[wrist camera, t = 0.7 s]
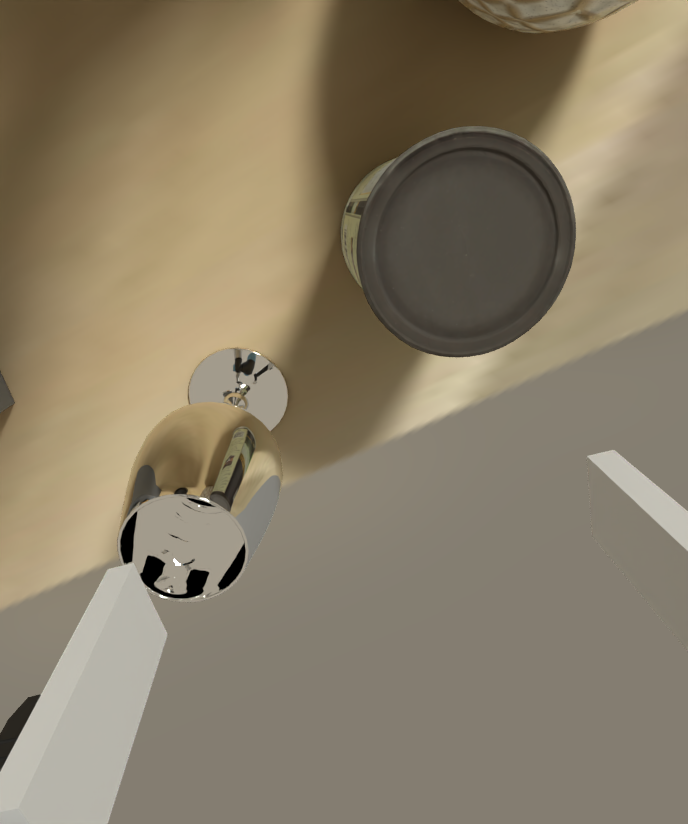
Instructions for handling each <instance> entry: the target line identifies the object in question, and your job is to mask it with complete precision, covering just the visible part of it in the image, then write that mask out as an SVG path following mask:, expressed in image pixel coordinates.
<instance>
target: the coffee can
mask: <svg viewBox="0 0 688 824" xmlns="http://www.w3.org/2000/svg"><path fill="white" fill-rule="evenodd" d="M575 240H576V222H575V214H574V208H573V204H572V200H571V196H570V194H569V191H568V189H567V186H566V184H565V182H564V180H563V178H562V176H561V174H560V172H559V171H558V170H557V168H556V167H555V165H554V164H553V163H552V162H551V160H550V159H549V158H548V157H547V156H546V155H545V154H544V153H543V152H542V151H541V150H540V149H539V148H537V147H536V146H535V145H533V144H532V143H530V142H529V141H527V140H526V139H524V138H522V137H520V136H518V135H516V134H513V133H511V132H509V131H506V130H502V129H498V128H493V127H484V126H468V127H459V128H453V129H449V130H445V131H442V132H439V133H437V134H434V135H432V136H430V137H427V138H425V139H424V140H422V141H420V142H419V143H417V144H415V145H413V146H412V147H410V148H409V149H408V150H406V151H405V152H404V153H402V154H401V155H400V156H399V157H397V158H395V159H392V160H389V161H387V162H385V163H383V164H381V165H379V166H378V167H376V168H375V169H374V170H372V171H371V172H369V173H368V174H367V175H366V176H365V177H364V178H363V179H362V181H361V182H360V183H359V184H358V185H357V186H356V188H355V189H354V191H353V192H352V194H351V196H350V198H349V200H348V202H347V204H346V207H345V210H344V213H343V217H342V223H341V245H342V251H343V255H344V259H345V262H346V264H347V266H348V269H349V271H350V273H351V274H352V276H353V278H354V279H355V281H356V282H357V283H358V284H359V285H360V286H361V288H362V289H363V291H364V293H365V296H366V298H367V301H368V303H369V305H370V306H371V308H372V310H373V312H374V313H375V315H376V316H377V317H378V319H379V320H380V321H381V322H382V323H383V324H384V326H385V327H386V328H387V329H388V330H389V331H390V332H391V333H392V334H394V335H395V336H396V337H397V338H399V339H400V340H402V341H403V342H405V343H406V344H408V345H409V346H411V347H413V348H415V349H418V350H420V351H423V352H426V353H429V354H433V355H438V356H445V357H470V356H476V355H482V354H485V353H489V352H492V351H495V350H497V349H499V348H502V347H504V346H506V345H507V344H509V343H511V342H513V341H515V340H516V339H518V338H519V337H520V336H522V335H523V334H525V333H526V332H527V331H529V330H530V329H531V328H532V327H533V326H534V325H535V324H536V323H538V322H539V321H540V320H541V319H542V317H543V316H544V315H545V314H546V313H547V311H548V310H549V309H550V307H551V306H552V305H553V303H554V302H555V300H556V299H557V297H558V295H559V294H560V292H561V290H562V288H563V286H564V283H565V281H566V279H567V276H568V274H569V271H570V268H571V265H572V260H573V256H574V250H575Z"/></svg>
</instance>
